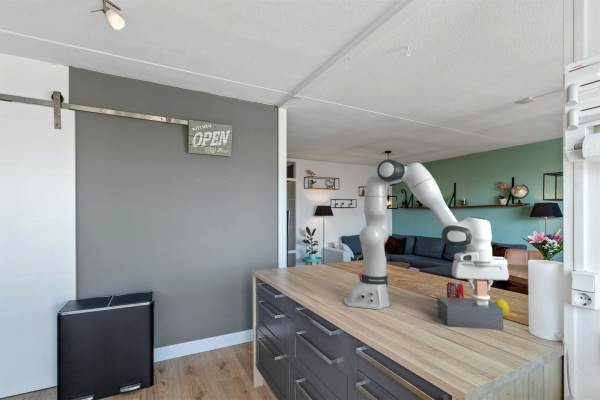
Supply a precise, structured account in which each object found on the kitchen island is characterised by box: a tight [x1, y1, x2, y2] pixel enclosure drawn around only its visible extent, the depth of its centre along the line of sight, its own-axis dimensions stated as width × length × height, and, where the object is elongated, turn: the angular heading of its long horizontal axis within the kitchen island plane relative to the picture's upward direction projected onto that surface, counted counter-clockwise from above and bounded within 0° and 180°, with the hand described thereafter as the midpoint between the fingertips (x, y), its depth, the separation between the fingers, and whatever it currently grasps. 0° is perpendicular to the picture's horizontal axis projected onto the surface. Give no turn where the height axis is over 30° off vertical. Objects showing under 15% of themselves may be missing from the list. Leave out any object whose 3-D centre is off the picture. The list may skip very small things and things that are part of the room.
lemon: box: [493, 298, 511, 319], centre depth 119 cm, size 6×6×8 cm
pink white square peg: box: [470, 279, 491, 305], centre depth 115 cm, size 6×6×12 cm
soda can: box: [446, 279, 465, 298], centre depth 133 cm, size 7×7×12 cm
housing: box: [436, 296, 504, 331], centre depth 115 cm, size 20×12×8 cm, turn 81°
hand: (480, 290), depth 115 cm, fingers closed on pink white square peg, 4 cm apart
